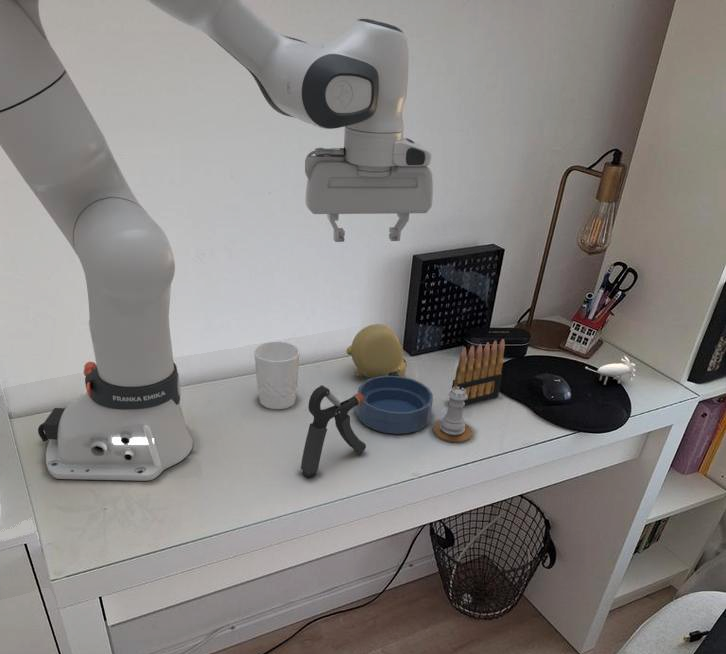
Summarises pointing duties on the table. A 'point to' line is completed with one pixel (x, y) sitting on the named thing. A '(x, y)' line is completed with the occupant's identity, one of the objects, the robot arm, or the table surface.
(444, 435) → the coaster
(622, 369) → the white animal figurine
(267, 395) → the white cup
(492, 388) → the ammunition clip
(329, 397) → the hand grip strengthener
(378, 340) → the khaki rounded piece
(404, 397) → the bowl
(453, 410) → the rook chess piece
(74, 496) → the table surface
